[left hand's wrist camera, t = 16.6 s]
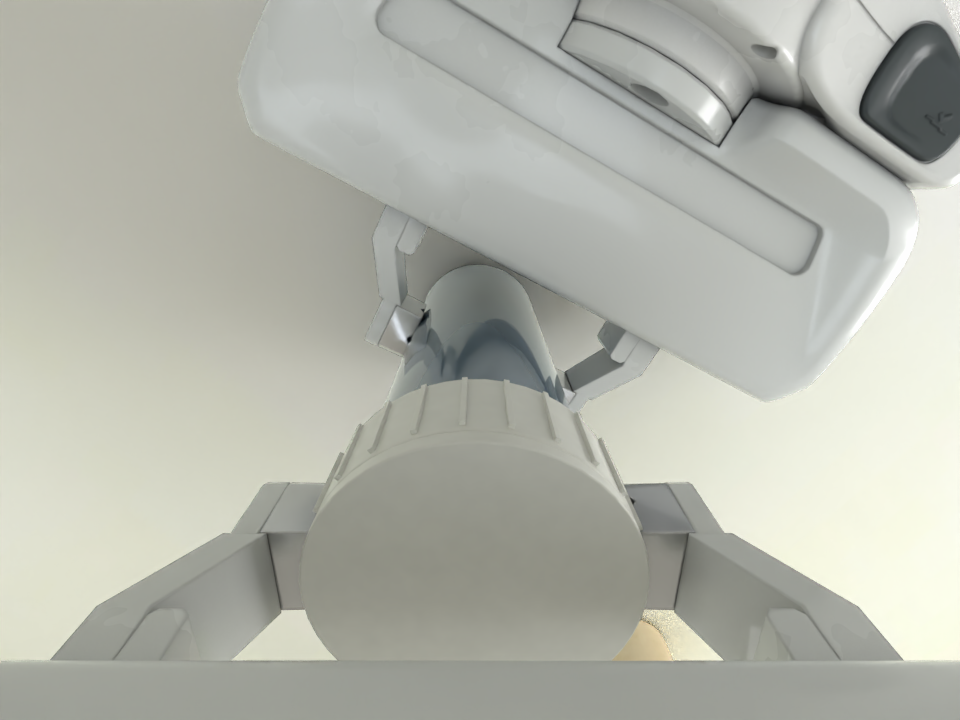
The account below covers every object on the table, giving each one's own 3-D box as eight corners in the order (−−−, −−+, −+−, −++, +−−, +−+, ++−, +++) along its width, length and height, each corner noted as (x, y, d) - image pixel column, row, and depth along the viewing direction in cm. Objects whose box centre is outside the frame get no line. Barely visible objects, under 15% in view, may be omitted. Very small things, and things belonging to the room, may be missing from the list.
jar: (452, 387, 25) (415, 701, 10) (401, 293, 23) (273, 513, 9) (550, 344, 24) (657, 620, 10) (505, 244, 22) (553, 397, 8)
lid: (509, 647, 12) (516, 754, 10) (283, 536, 11) (235, 630, 9) (677, 471, 11) (730, 555, 8) (429, 315, 9) (413, 364, 7)
